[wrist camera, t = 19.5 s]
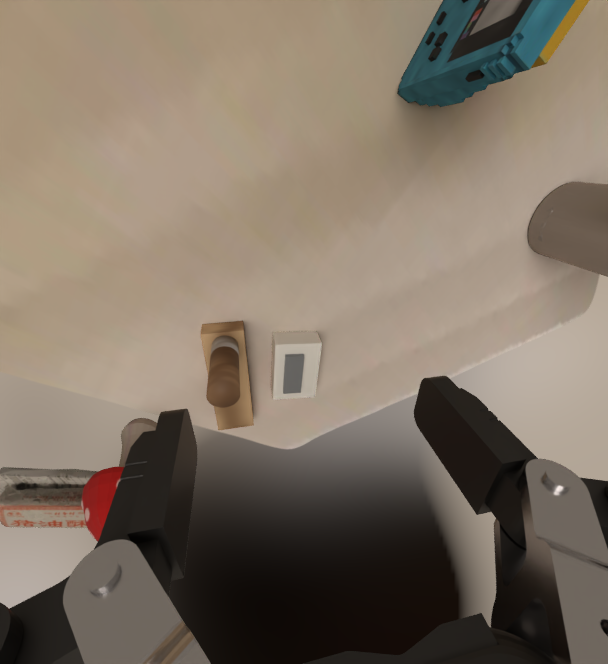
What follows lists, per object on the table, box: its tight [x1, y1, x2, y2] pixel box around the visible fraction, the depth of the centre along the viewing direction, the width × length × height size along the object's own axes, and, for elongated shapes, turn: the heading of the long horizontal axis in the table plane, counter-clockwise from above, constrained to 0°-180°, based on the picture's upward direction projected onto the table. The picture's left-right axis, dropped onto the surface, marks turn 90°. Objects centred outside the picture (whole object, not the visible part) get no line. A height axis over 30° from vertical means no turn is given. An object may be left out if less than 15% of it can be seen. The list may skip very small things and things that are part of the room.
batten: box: [201, 321, 254, 430], centre depth 42 cm, size 5×16×2 cm, turn 0°
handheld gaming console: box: [397, 0, 589, 107], centre depth 23 cm, size 10×4×15 cm, turn 151°
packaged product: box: [0, 467, 99, 528], centre depth 47 cm, size 18×5×10 cm
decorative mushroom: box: [81, 418, 157, 541], centre depth 39 cm, size 10×9×15 cm
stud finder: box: [271, 331, 322, 400], centre depth 43 cm, size 6×9×4 cm, turn 175°
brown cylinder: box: [207, 335, 240, 408], centre depth 34 cm, size 3×3×9 cm
